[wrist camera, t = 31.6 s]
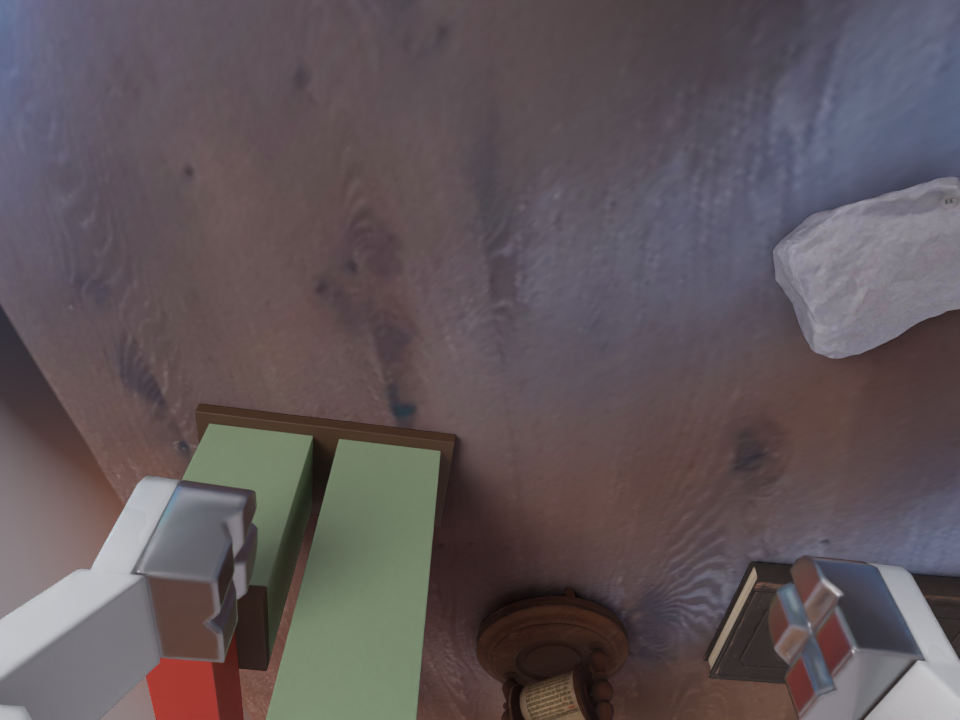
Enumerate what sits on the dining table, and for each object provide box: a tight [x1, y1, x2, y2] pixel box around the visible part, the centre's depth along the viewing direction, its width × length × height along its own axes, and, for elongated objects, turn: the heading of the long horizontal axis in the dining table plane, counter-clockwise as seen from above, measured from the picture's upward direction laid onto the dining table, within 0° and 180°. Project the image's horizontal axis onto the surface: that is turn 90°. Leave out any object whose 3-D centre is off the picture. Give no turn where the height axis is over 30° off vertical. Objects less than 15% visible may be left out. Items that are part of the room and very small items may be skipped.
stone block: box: [773, 177, 960, 359], centre depth 46 cm, size 12×5×10 cm
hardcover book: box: [704, 562, 960, 684], centre depth 70 cm, size 16×23×2 cm
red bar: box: [146, 630, 244, 720], centre depth 44 cm, size 24×4×4 cm, turn 172°
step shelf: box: [182, 404, 455, 720], centre depth 49 cm, size 10×20×26 cm, turn 82°
